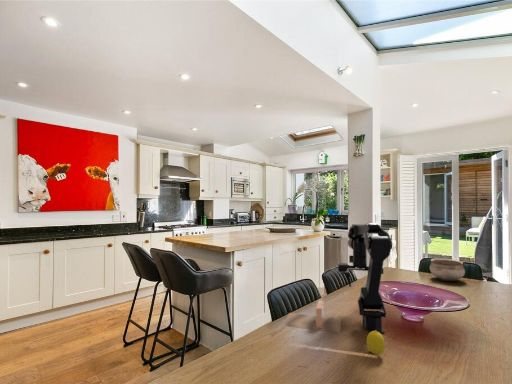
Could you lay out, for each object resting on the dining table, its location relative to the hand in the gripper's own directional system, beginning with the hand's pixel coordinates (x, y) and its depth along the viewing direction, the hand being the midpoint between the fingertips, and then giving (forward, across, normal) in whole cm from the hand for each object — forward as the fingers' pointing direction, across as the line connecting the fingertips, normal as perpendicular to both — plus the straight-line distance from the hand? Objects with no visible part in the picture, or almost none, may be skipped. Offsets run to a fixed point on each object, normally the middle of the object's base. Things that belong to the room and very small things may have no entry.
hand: (360, 287), depth 130 cm
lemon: (+12, -2, +35) cm, 37 cm away
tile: (+11, +17, +15) cm, 25 cm away
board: (+12, +20, +15) cm, 28 cm away
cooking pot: (+12, -58, -76) cm, 97 cm away
